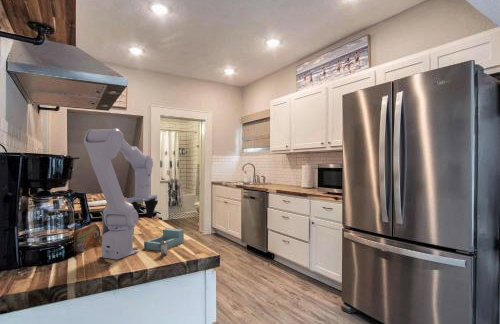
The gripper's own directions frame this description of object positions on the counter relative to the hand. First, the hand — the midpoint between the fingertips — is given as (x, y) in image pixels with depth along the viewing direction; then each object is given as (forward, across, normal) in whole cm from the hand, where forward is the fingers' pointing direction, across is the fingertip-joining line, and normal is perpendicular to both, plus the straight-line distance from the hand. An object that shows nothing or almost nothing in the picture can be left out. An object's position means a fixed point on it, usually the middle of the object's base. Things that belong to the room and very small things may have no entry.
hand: (142, 219), depth 115 cm
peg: (+9, -9, -18) cm, 23 cm away
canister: (+10, +6, +20) cm, 23 cm away
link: (+9, +1, -10) cm, 14 cm away
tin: (+10, -14, +14) cm, 22 cm away
